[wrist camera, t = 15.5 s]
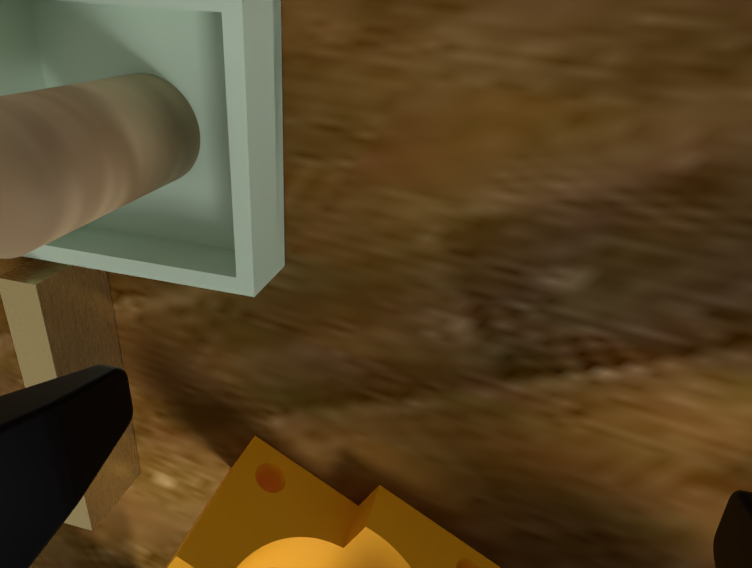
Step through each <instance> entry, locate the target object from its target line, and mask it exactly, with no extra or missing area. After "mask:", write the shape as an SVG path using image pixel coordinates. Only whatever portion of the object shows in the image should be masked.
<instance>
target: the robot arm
mask: <svg viewBox="0 0 752 568" xmlns="http://www.w3.org/2000/svg"><path fill="white" fill-rule="evenodd" d="M132 415H133V406H132V400H131V394H130V388H129V382H128V377H127V374H126V372H125V371H124V370H123V369H121V368H119V367H114V366H109V365H104V364H98V365H94V366H91V367H88V368H85V369H82V370H79V371H76V372H73V373H70V374H67V375H64V376H61V377H57V378H54V379H51V380H48V381H45V382H42V383H39V384H36V385H33V386H30V387H27V388H24V389H21V390H17V391H14V392H11V393H8V394H5V395H2V396H0V568H29V567H30V565H31V564H32V563H33V562H34V560H35V559H36V558H37V556H38V555H39V554H40V553H41V551H42V550H43V549H44V547H45V546H46V545H47V544H48V542H49V541H50V540H51V538H52V537H53V536H54V535H55V533H56V532H57V531H58V530H59V528H60V527H61V526H62V524H63V523H64V522H65V521H66V519H67V518H68V517H69V515H70V514H71V513H72V511H73V510H74V509H75V507H76V506H77V505H78V503H79V502H80V500H81V499H82V497H83V496H84V494H85V493H86V491H87V490H88V488H89V487H90V485H91V484H92V482H93V480H94V479H95V477H96V476H97V474H98V473H99V471H100V470H101V468H102V466H103V465H104V463H105V462H106V460H107V459H108V457H109V456H110V454H111V452H112V451H113V449H114V448H115V446H116V445H117V443H118V441H119V440H120V438H121V437H122V435H123V434H124V432H125V431H126V429H127V427H128V426H129V424H130V422H131V419H132ZM713 552H714V560H715V566H716V568H752V492H748V491H742V490H738V491H735V492H734V493H733V494H732V495H731V496H730V498H729V500H728V503H727V506H726V508H725V511H724V513H723V516H722V518H721V521H720V523H719V526H718V528H717V531H716V534H715V537H714V544H713Z"/></svg>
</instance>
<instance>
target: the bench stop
mask: <svg viewBox="0 0 752 568" xmlns="http://www.w3.org/2000/svg"><path fill="white" fill-rule="evenodd" d="M0 293H1V297H2V301H3V305H4V308H5V312H6V316H7V320H8V324H9V327H10V331H11V335H12V339H13V343H14V346H15V350H16V354H17V358H18V362H19V365H20V369H21V373H22V377H23V381H24V384H25V388H27V387H30V386H33V385H36V384H39V383H42V382H45V381H48V380H51V379H54V378H57V377H61V376H64V375H67V374H70V373H73V372H76V371H79V370H82V369H85V368H88V367H91V366H94V365H98V364H104V365H109V366H114V367H119V368H121V369H123V366H122V360H121V354H120V348H119V342H118V336H117V330H116V324H115V318H114V312H113V306H112V300H111V294H110V288H109V282H108V276H107V271H103V270H97V269H92V268H86V267H80V266H75V265H69V264H63V263H58V262H52V261H46V260H41V259H33V260H31V261H29V262H27V263H25V264H23V265H21V266H19V267H17V268H15V269H13V270H11V271H9V272H7V273H5V274H3V275H1V276H0ZM139 475H140V468H139V462H138V456H137V450H136V444H135V438H134V432H133V426H132V420H131V422H130V424H129V426H128V427H127V429H126V431H125V432H124V434H123V435H122V437H121V438H120V440H119V441H118V443H117V445H116V446H115V448H114V449H113V451H112V452H111V454H110V456H109V457H108V459H107V460H106V462H105V463H104V465H103V466H102V468H101V470H100V471H99V473H98V474H97V476H96V477H95V479H94V480H93V482H92V484H91V485H90V487H89V488H88V490H87V491H86V493H85V494H84V496H83V497H82V499H81V500H80V502H79V503H78V505H77V506H76V507H75V509H74V510H73V511H72V513H71V514H70V515H69V517H68V518H67V519H66V521H65V522H64V523H66V524H70V525H73V526H77V527H81V528H84V529H88V530H91V531H92V530H93V529H94V528H95V527H96V526H97V525H98V523H99V522H100V521H101V520H102V519H103V518H104V516H105V515H106V514H107V513H108V512H109V510H110V509H111V508H112V507H113V506H114V505H115V503H116V502H117V501H118V500H119V499H120V498H121V496H122V495H123V494H124V493H125V492H126V490H127V489H128V488H129V487H130V486H131V485H132V483H133V482H134V481H135V480H136V479H137V477H138V476H139Z"/></svg>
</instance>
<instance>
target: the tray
mask: <svg viewBox="0 0 752 568" xmlns="http://www.w3.org/2000/svg"><path fill="white" fill-rule="evenodd" d="M135 73H146V74H152V75H155V76H158V77H160V78H162V79H164V80H166V81H168V82H169V83H171V84H172V85H173V86H175V87H176V88H177V89H178V90H179V91H180V92H181V93H182V94H183V95H184V97H185V98H186V99H187V101H188V102H189V104H190V105H191V107H192V109H193V111H194V113H195V116H196V118H197V121H198V125H199V130H200V150H199V154H198V157H197V160H196V162H195V164H194V165H193V167H192V168H191V169H190V171H189V172H188V173H186V174H185V175H184V176H182V177H181V178H179V179H177V180H175V181H173V182H171V183H169V184H167V185H165V186H163V187H161V188H159V189H157V190H155V191H153V192H151V193H149V194H147V195H145V196H142V197H140V198H138V199H136V200H134V201H132V202H130V203H128V204H126V205H124V206H122V207H120V208H118V209H116V210H114V211H112V212H110V213H108V214H106V215H104V216H102V217H100V218H98V219H96V220H94V221H92V222H90V223H88V224H86V225H84V226H82V227H80V228H78V229H76V230H74V231H72V232H70V233H68V234H66V235H63V236H61V237H59V238H57V239H55V240H53V241H51V242H49V243H47V244H45V245H43V246H41V247H39V248H37V249H35V250H33V251H31V252H29V253H27V254H25V255H22V256H24V257H29V258H35V259H41V260H46V261H52V262H58V263H63V264H69V265H75V266H80V267H86V268H92V269H97V270H103V271H109V272H115V273H120V274H126V275H132V276H137V277H143V278H149V279H154V280H160V281H166V282H171V283H177V284H183V285H188V286H194V287H200V288H205V289H211V290H217V291H223V292H228V293H234V294H240V295H245V296H251V297H255V296H256V295H257V294H258V293H259V292H260V291H261V290H262V289H263V288H264V287H265V286H266V285H267V284H268V283H269V282H270V281H271V279H272V278H273V277H274V276H275V275H276V274H277V273H278V272H279V271H280V270H281V269H282V268H283V267H284V266H285V250H284V182H283V113H282V45H281V0H0V96H4V95H10V94H16V93H22V92H28V91H34V90H40V89H46V88H52V87H58V86H64V85H70V84H76V83H82V82H88V81H93V80H99V79H105V78H111V77H117V76H123V75H129V74H135Z"/></svg>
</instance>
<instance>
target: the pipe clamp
mask: <svg viewBox="0 0 752 568" xmlns="http://www.w3.org/2000/svg"><path fill="white" fill-rule="evenodd" d="M270 567H278V568H501V567H499V566H498V565H496V564H495V563H493V562H492V561H490V560H489V559H487V558H486V557H485V556H483V555H482V554H480V553H479V552H477V551H476V550H474V549H473V548H471V547H470V546H468V545H467V544H465V543H464V542H463V541H461V540H460V539H458V538H457V537H455V536H454V535H452V534H451V533H449V532H448V531H446V530H445V529H444V528H442V527H441V526H439V525H438V524H436V523H435V522H433V521H432V520H430V519H429V518H427V517H426V516H425V515H423V514H422V513H420V512H419V511H417V510H416V509H414V508H413V507H411V506H410V505H408V504H407V503H406V502H404V501H403V500H401V499H400V498H398V497H397V496H395V495H394V494H392V493H391V492H389V491H388V490H386V489H385V488H384V487H382V486H381V485H379V486H378V487H377V488H376V489H375V490H374V491H373V492H372V493H371V494H370V495H369V496H368V497H367V498H366V499H365V500H364V501H363V502H362V503H361V504H360V505H359V506H358V505H357V504H355V503H354V502H352V501H351V500H349V499H348V498H346V497H345V496H343V495H342V494H340V493H339V492H337V491H336V490H335V489H333V488H332V487H330V486H329V485H327V484H326V483H324V482H323V481H321V480H320V479H318V478H317V477H315V476H314V475H312V474H311V473H310V472H308V471H307V470H305V469H304V468H302V467H301V466H299V465H298V464H296V463H295V462H293V461H292V460H290V459H289V458H287V457H286V456H285V455H283V454H282V453H280V452H279V451H277V450H276V449H274V448H273V447H271V446H270V445H268V444H267V443H265V442H264V441H263V440H261V439H260V438H258V437H257V436H254V438H253V439H252V440H251V442H250V443H249V444H248V446H247V447H246V449H245V450H244V451H243V453H242V454H241V455H240V457H239V458H238V460H237V461H236V462H235V464H234V465H233V466H232V468H231V469H230V471H229V472H228V474H227V475H226V477H225V478H224V480H223V481H222V483H221V484H220V486H219V487H218V489H217V490H216V492H215V493H214V495H213V496H212V498H211V499H210V501H209V502H208V504H207V506H206V507H205V509H204V510H203V512H202V513H201V515H200V516H199V518H198V519H197V521H196V522H195V524H194V525H193V527H192V528H191V530H190V531H189V533H188V534H187V536H186V537H185V539H184V540H183V542H182V543H181V545H180V546H179V548H178V549H177V551H176V552H175V554H174V555H173V557H172V558H171V560H170V561H169V563H168V565H167V566H166V568H270Z"/></svg>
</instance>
